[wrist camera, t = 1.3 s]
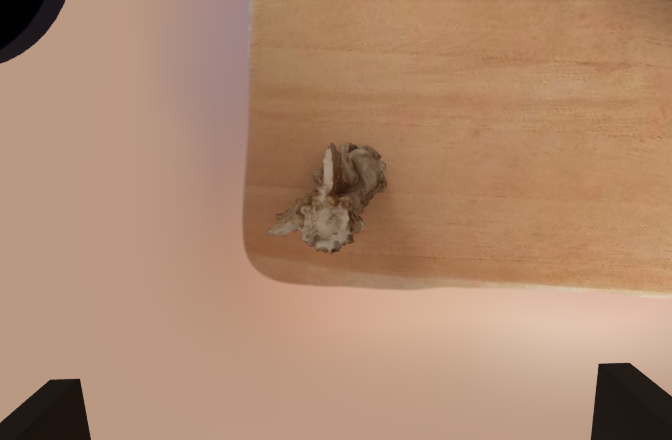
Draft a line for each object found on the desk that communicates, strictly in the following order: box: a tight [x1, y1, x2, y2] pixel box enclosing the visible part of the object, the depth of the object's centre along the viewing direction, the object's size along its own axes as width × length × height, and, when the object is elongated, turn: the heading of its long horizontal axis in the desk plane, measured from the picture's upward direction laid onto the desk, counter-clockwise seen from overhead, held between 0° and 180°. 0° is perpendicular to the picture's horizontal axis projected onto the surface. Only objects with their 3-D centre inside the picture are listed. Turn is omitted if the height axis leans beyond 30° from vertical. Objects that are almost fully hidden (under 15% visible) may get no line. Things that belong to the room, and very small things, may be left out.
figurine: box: [267, 143, 387, 255], centre depth 28 cm, size 7×6×15 cm
